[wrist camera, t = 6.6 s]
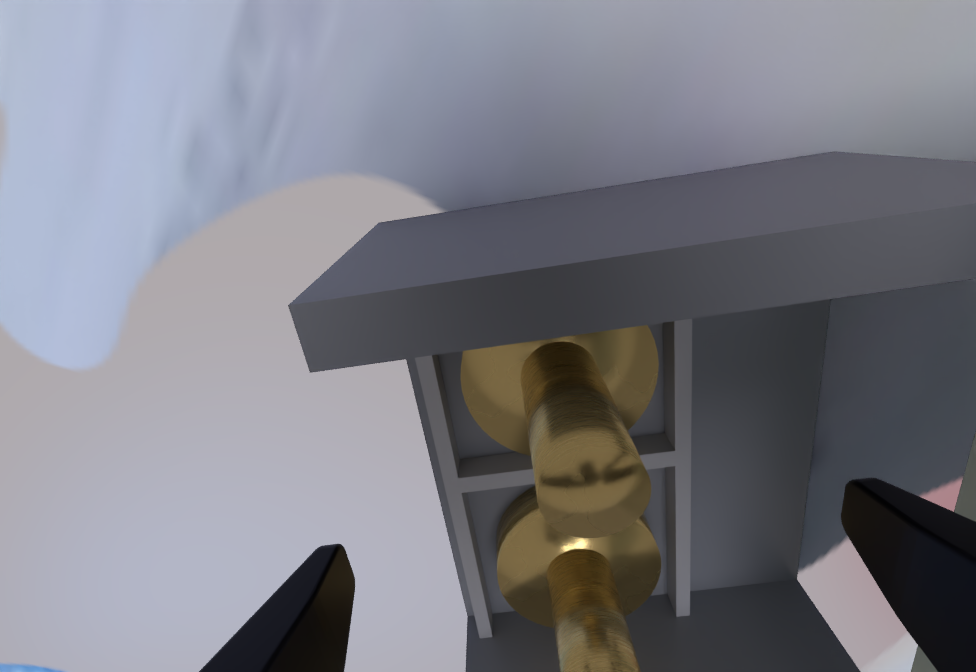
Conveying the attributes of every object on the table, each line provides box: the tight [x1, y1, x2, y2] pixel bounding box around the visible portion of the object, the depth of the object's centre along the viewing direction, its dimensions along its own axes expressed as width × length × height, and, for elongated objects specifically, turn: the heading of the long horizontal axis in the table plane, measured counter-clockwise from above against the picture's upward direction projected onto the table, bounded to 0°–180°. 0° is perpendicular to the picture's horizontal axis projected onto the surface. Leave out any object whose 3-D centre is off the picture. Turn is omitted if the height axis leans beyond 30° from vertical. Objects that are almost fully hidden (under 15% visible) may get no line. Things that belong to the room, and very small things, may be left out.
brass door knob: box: [461, 325, 659, 538], centre depth 13 cm, size 6×6×6 cm
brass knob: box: [496, 486, 661, 672], centre depth 16 cm, size 6×6×6 cm
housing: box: [288, 152, 976, 672], centre depth 14 cm, size 13×17×7 cm
